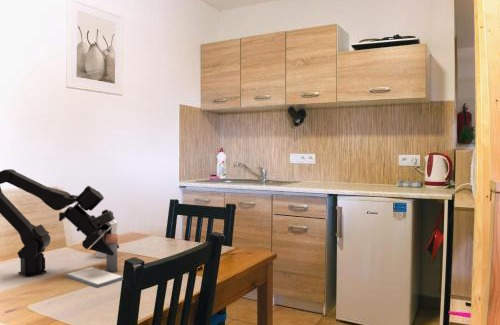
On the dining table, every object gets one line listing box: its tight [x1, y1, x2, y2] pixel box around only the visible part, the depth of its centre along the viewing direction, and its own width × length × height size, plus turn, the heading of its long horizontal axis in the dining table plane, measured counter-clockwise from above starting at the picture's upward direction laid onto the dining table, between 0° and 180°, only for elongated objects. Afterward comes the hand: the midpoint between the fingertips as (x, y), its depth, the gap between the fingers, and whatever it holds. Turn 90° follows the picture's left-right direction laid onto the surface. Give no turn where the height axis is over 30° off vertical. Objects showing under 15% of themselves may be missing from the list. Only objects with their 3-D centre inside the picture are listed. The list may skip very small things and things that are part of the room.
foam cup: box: [95, 220, 118, 258], centre depth 158 cm, size 10×9×13 cm
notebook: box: [64, 266, 123, 289], centre depth 131 cm, size 10×18×1 cm, turn 55°
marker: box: [105, 233, 118, 273], centre depth 138 cm, size 4×4×12 cm
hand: (115, 251), depth 138 cm, fingers open, 9 cm apart
